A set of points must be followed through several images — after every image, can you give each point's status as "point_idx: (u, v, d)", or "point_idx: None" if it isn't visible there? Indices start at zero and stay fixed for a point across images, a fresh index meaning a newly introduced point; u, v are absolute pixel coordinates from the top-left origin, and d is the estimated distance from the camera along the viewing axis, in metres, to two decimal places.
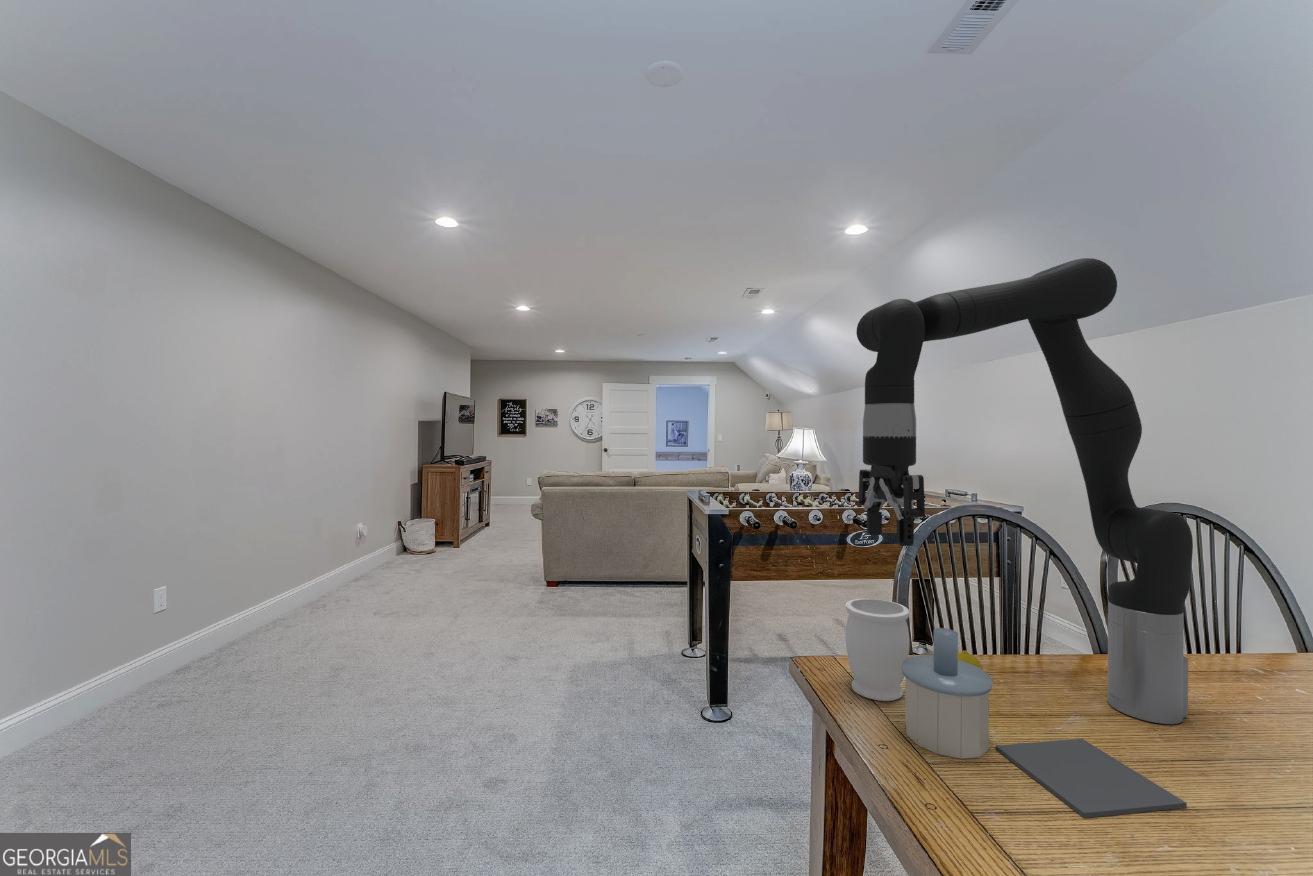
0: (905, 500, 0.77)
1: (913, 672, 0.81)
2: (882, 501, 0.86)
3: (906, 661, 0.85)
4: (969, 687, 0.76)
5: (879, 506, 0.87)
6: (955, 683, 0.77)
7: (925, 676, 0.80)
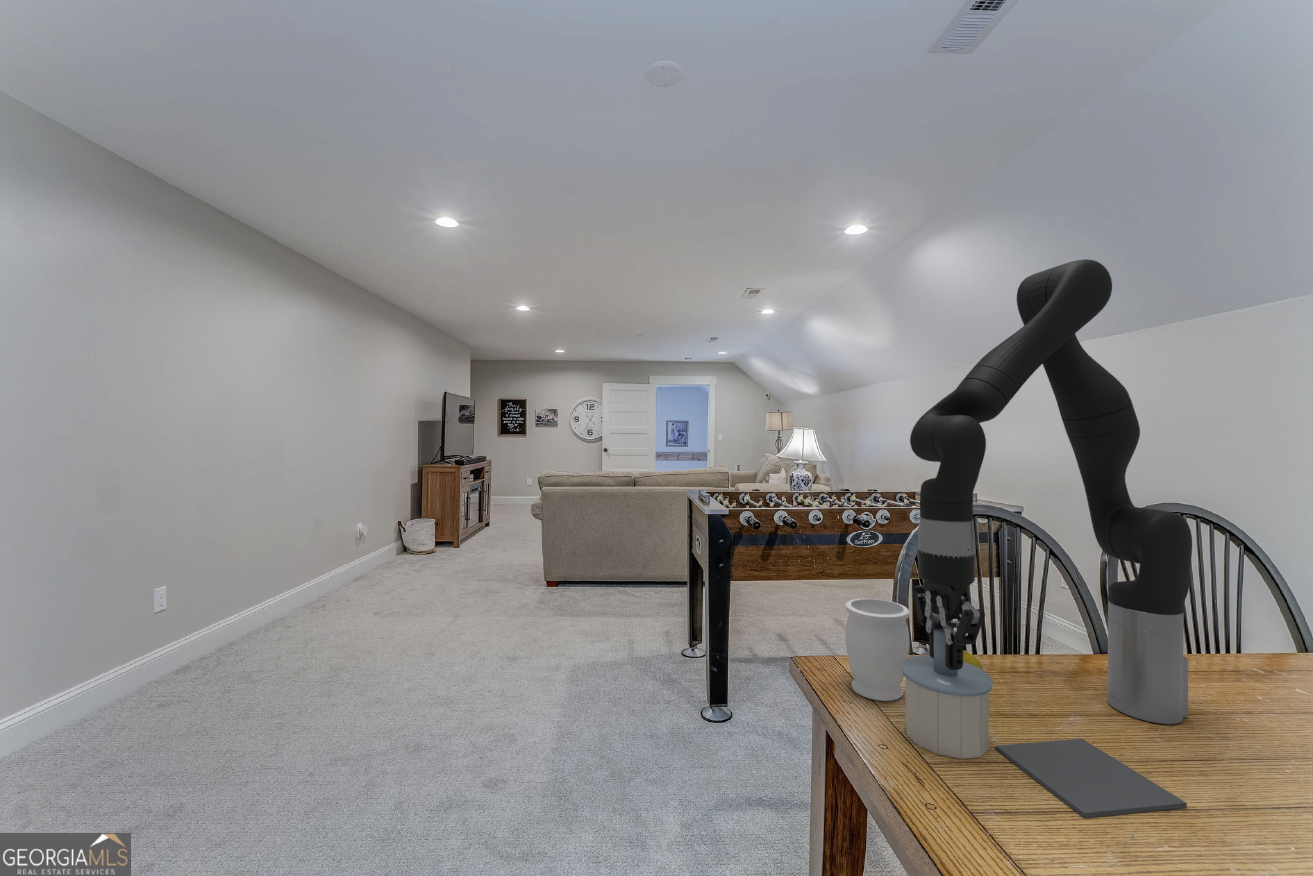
0: (959, 629, 0.76)
1: (913, 672, 0.81)
2: None
3: (906, 661, 0.85)
4: (969, 687, 0.76)
5: (942, 626, 0.83)
6: (955, 683, 0.77)
7: (925, 676, 0.80)
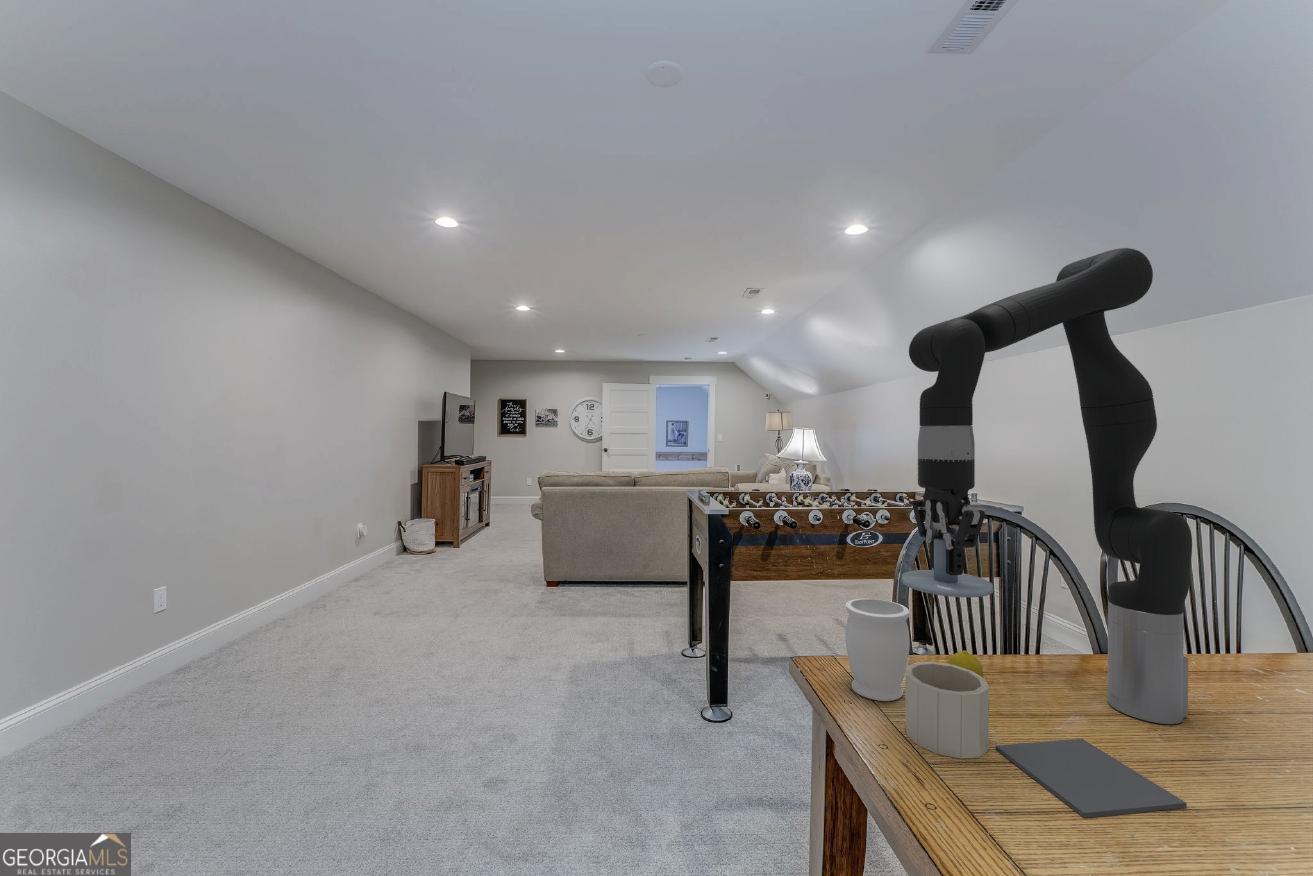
0: (959, 531, 0.76)
1: (913, 580, 0.81)
2: None
3: (906, 574, 0.85)
4: (969, 589, 0.76)
5: (942, 536, 0.83)
6: (955, 587, 0.77)
7: (925, 583, 0.79)
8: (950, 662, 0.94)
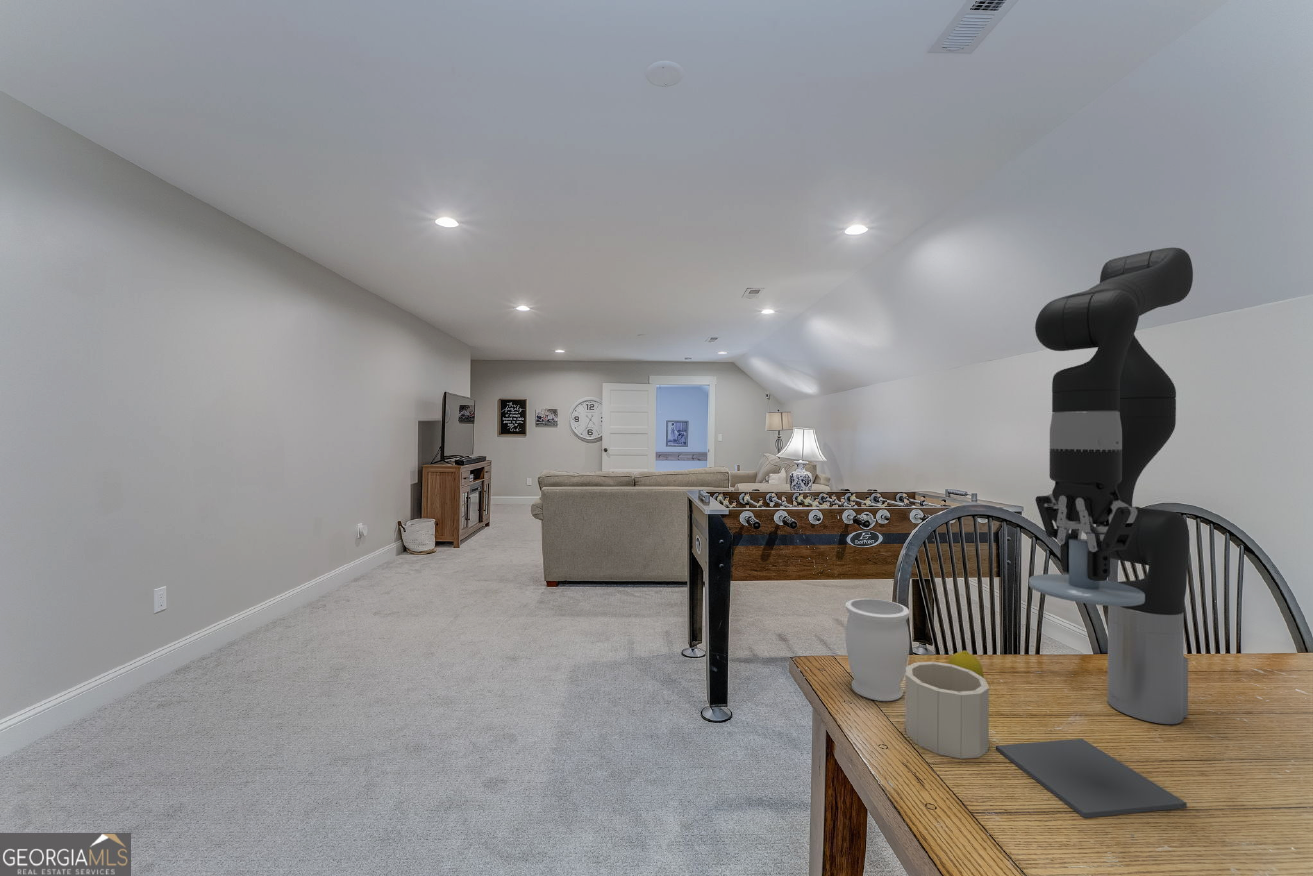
0: (1109, 531, 0.67)
1: (1048, 586, 0.71)
2: (1079, 528, 0.73)
3: (1033, 578, 0.75)
4: (1121, 597, 0.67)
5: (1077, 537, 0.73)
6: (1102, 594, 0.68)
7: (1064, 589, 0.70)
8: (950, 662, 0.94)
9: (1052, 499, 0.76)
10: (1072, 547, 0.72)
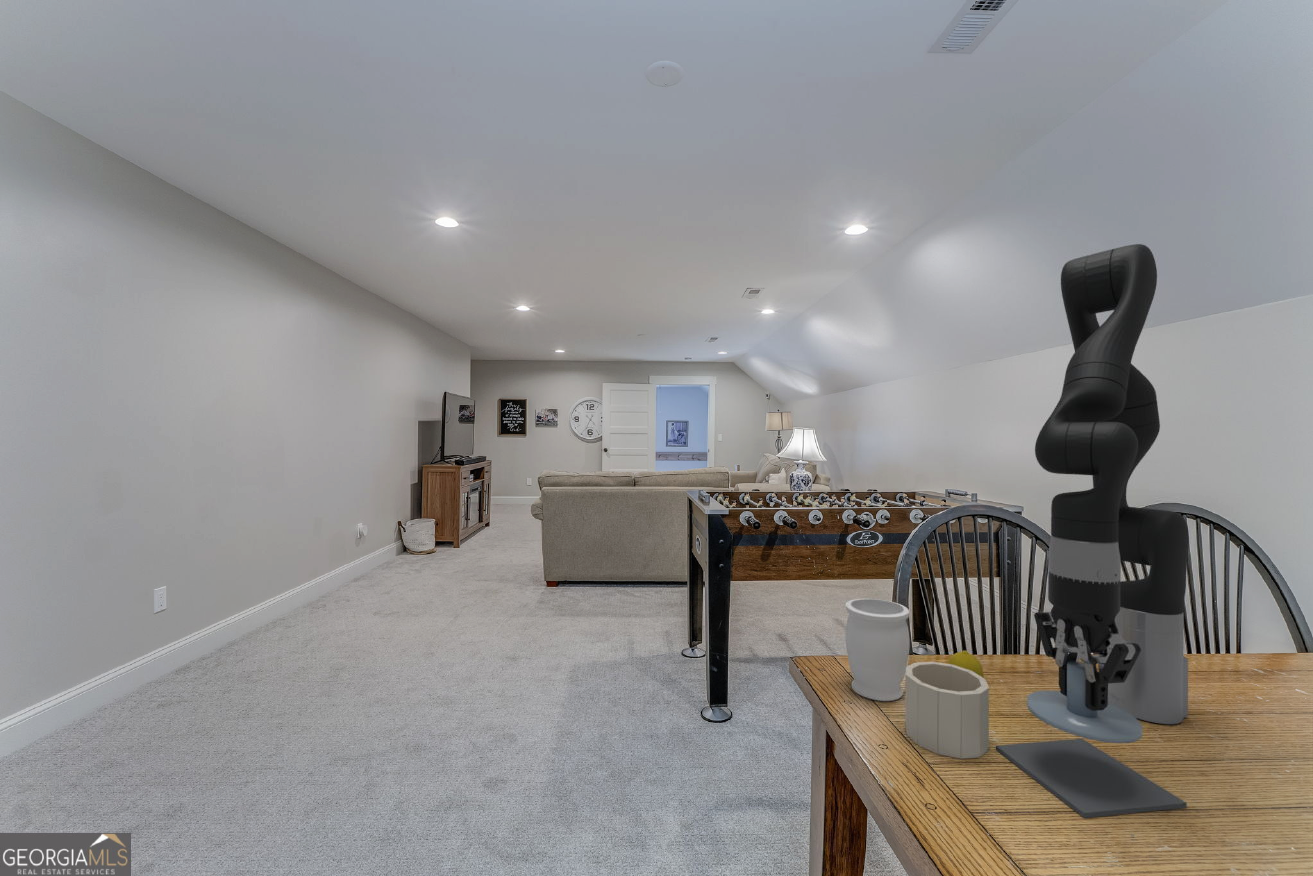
0: (1107, 666, 0.67)
1: (1045, 712, 0.72)
2: (1078, 652, 0.73)
3: (1031, 698, 0.75)
4: (1119, 732, 0.67)
5: (1075, 659, 0.74)
6: (1100, 727, 0.68)
7: (1062, 717, 0.70)
8: (950, 662, 0.94)
9: (1051, 618, 0.76)
10: (1070, 673, 0.72)
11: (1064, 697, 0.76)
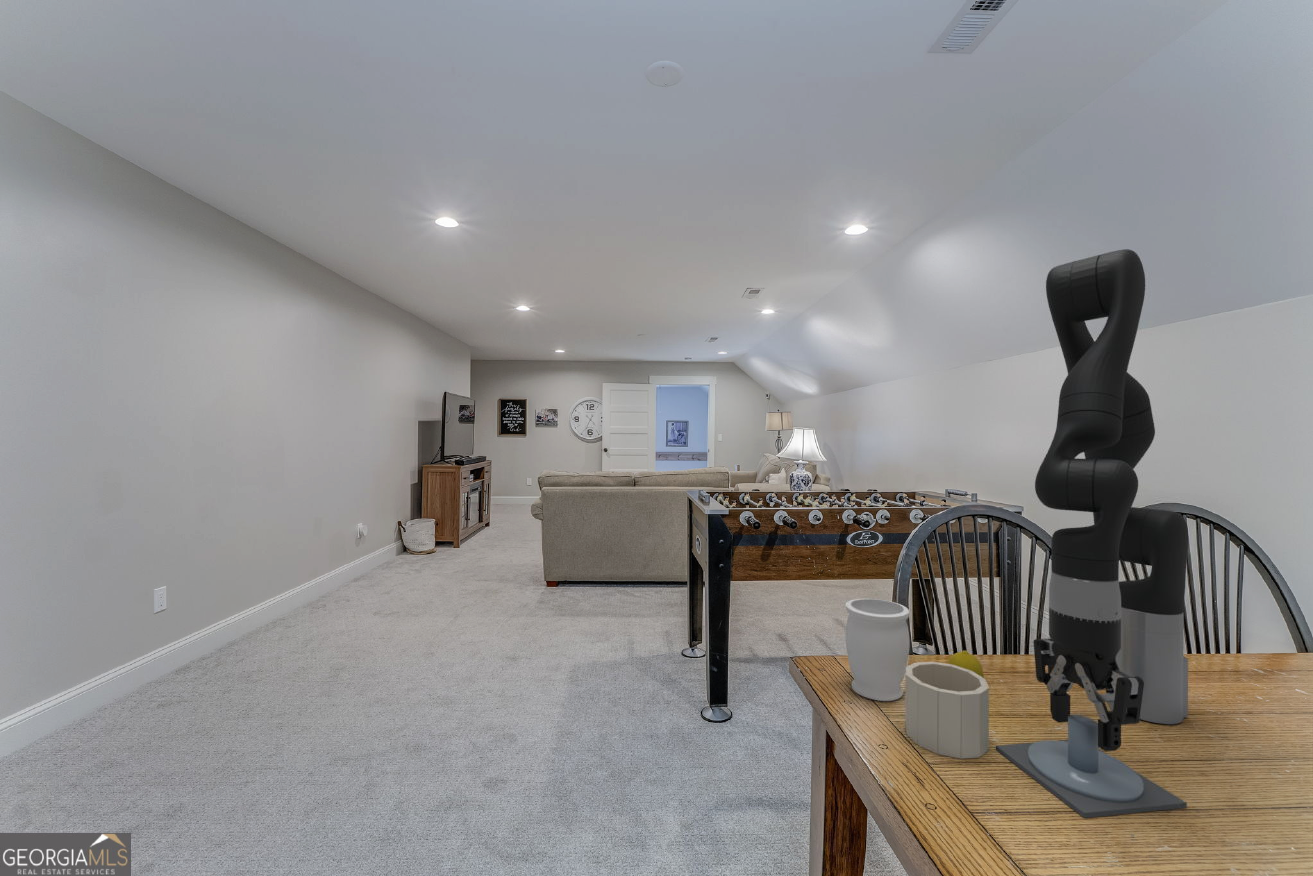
0: (1117, 704, 0.66)
1: (1047, 767, 0.72)
2: (1071, 682, 0.74)
3: (1032, 750, 0.75)
4: (1120, 790, 0.67)
5: (1067, 687, 0.75)
6: (1101, 785, 0.68)
7: (1063, 773, 0.70)
8: (950, 662, 0.94)
9: (1050, 648, 0.76)
10: (1071, 727, 0.72)
11: (1065, 748, 0.76)
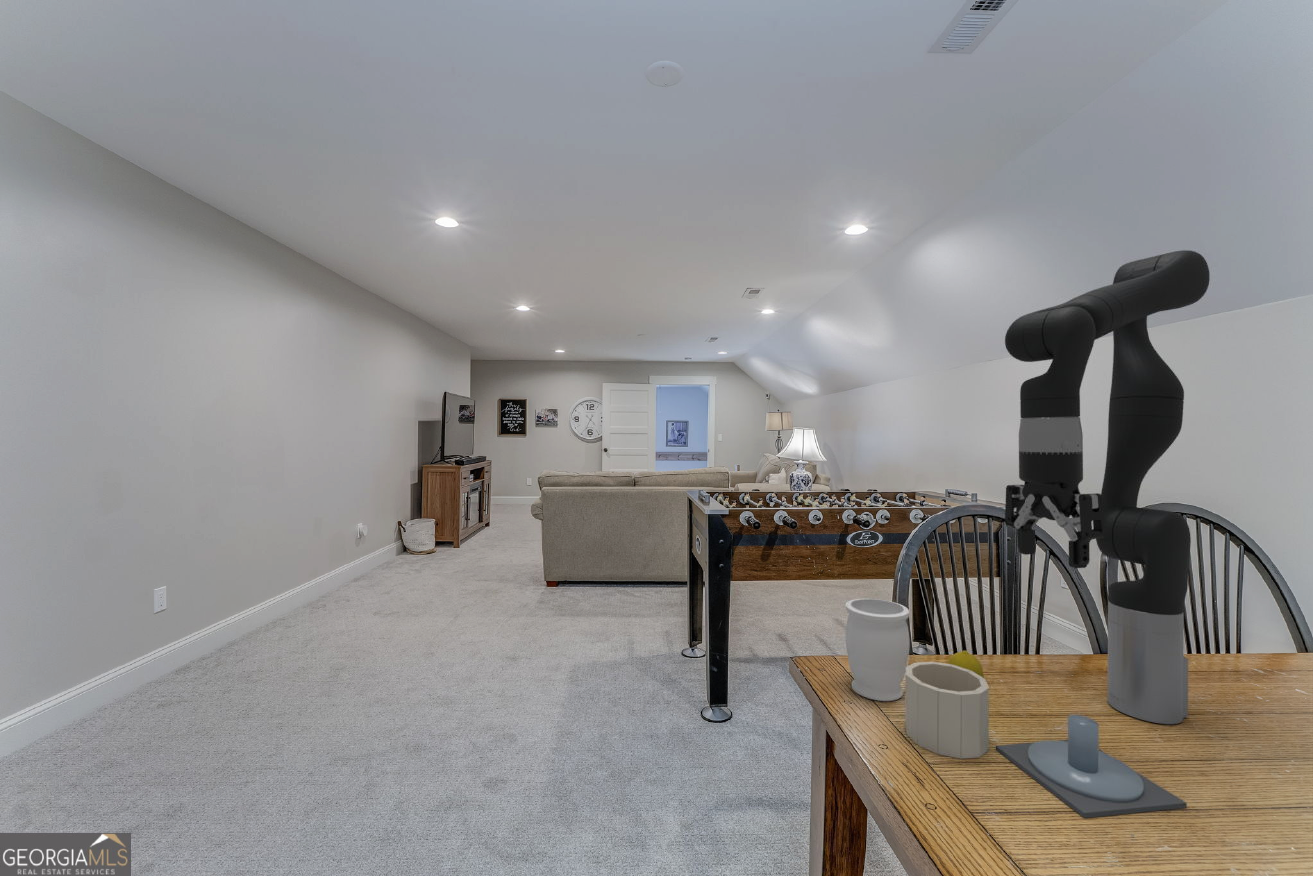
0: (1082, 520, 0.72)
1: (1047, 767, 0.72)
2: (1037, 518, 0.82)
3: (1032, 750, 0.75)
4: (1120, 790, 0.67)
5: (1032, 524, 0.83)
6: (1101, 785, 0.68)
7: (1063, 773, 0.70)
8: (950, 662, 0.94)
9: (1020, 492, 0.83)
10: (1071, 727, 0.72)
11: (1065, 748, 0.76)
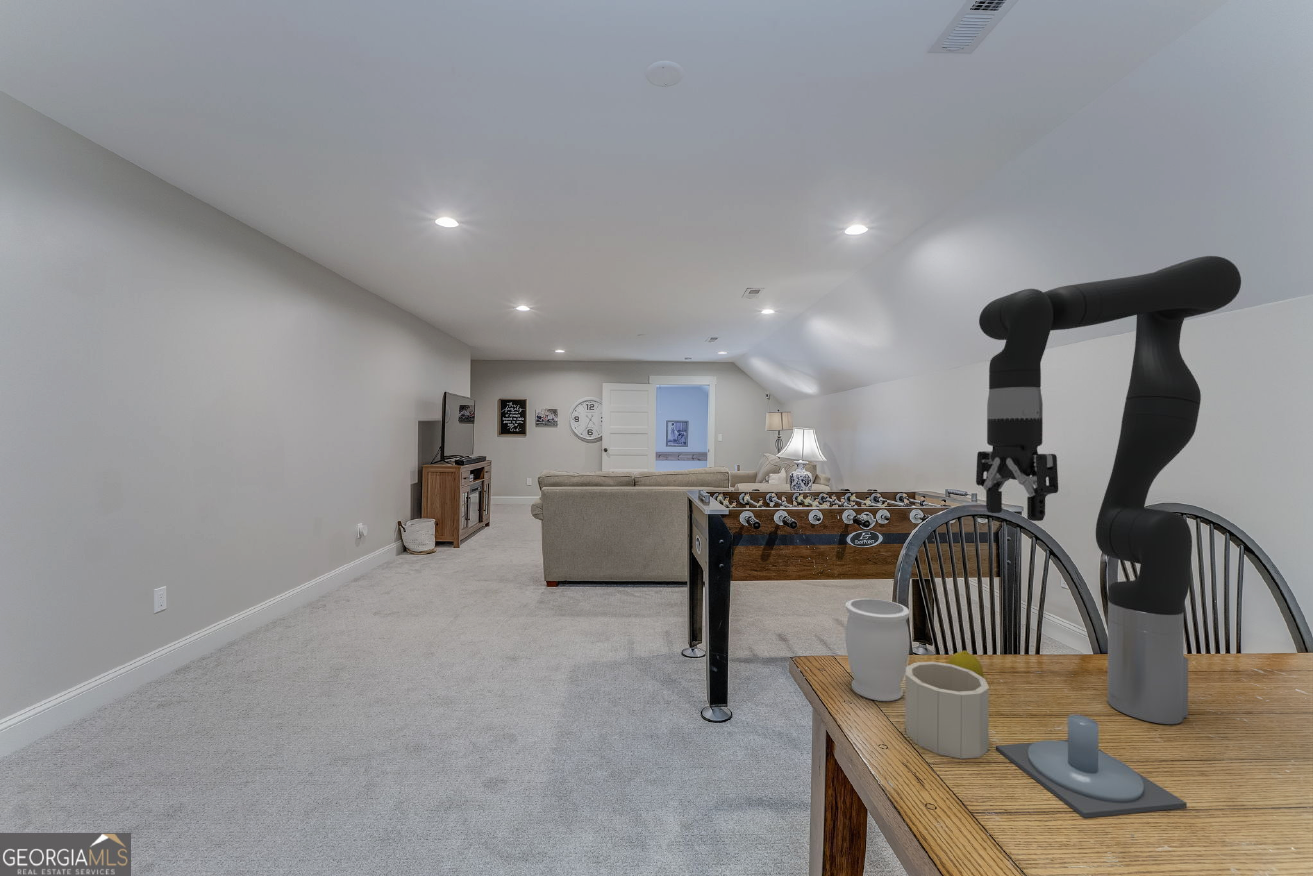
0: (1038, 477, 0.82)
1: (1047, 767, 0.72)
2: (1003, 481, 0.91)
3: (1032, 750, 0.75)
4: (1120, 790, 0.67)
5: (999, 485, 0.92)
6: (1101, 785, 0.68)
7: (1063, 773, 0.70)
8: (950, 662, 0.94)
9: (989, 457, 0.93)
10: (1071, 727, 0.72)
11: (1065, 748, 0.76)
